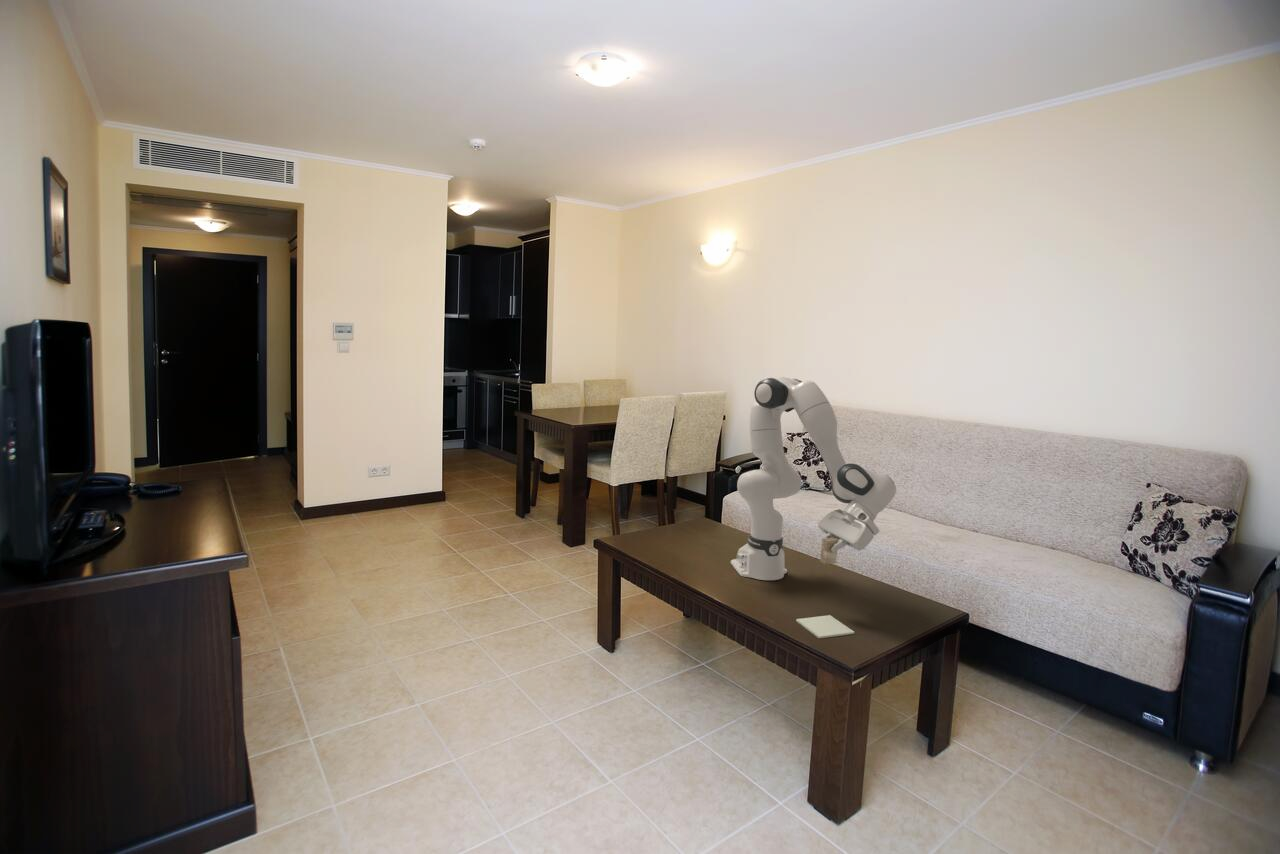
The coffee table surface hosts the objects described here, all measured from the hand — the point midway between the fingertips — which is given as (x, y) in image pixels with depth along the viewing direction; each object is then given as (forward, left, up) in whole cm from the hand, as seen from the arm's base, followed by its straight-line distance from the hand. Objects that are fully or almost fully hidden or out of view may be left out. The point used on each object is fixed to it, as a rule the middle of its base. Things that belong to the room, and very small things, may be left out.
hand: (827, 548), depth 203 cm
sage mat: (+10, -6, -20) cm, 24 cm away
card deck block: (0, +1, -4) cm, 4 cm away
